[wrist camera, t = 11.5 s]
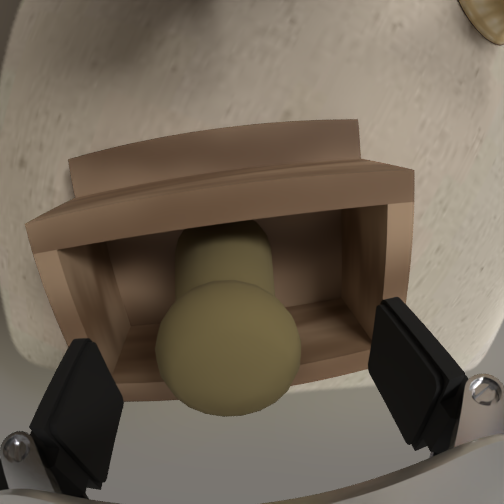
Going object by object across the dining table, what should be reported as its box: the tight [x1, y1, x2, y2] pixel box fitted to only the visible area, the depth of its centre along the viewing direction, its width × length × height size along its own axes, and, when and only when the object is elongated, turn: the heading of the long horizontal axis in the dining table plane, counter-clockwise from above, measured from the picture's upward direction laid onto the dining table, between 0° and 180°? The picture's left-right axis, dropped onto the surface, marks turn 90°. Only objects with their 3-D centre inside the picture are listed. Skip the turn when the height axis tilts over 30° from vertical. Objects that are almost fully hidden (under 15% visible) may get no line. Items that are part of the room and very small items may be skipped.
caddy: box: [25, 119, 414, 402], centre depth 17 cm, size 14×18×8 cm
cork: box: [155, 220, 301, 417], centre depth 14 cm, size 6×6×11 cm
